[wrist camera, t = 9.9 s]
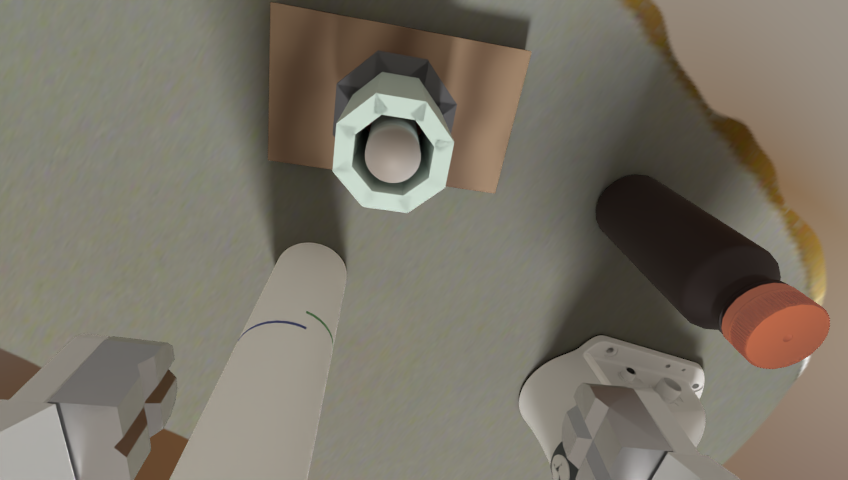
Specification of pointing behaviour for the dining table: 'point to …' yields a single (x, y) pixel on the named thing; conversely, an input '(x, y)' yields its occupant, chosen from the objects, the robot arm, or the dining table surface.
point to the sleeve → (351, 136)
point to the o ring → (401, 67)
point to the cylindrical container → (273, 377)
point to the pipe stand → (389, 136)
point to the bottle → (711, 272)
